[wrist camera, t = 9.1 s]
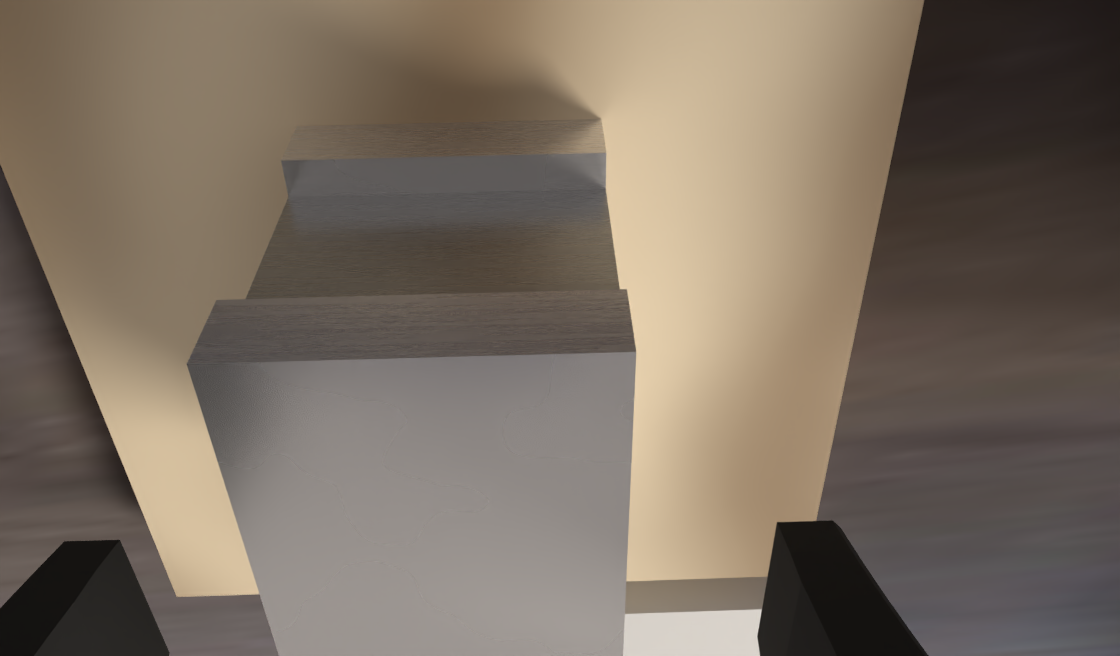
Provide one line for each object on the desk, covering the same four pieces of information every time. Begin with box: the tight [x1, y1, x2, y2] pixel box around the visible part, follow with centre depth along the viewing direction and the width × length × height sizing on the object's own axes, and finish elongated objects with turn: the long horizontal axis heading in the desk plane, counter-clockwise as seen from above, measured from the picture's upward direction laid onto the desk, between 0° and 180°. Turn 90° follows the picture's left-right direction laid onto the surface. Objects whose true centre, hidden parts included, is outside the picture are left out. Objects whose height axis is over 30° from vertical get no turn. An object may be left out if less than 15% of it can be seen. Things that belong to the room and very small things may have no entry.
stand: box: [0, 0, 924, 597], centre depth 15 cm, size 12×12×2 cm
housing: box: [187, 119, 636, 656], centre depth 13 cm, size 7×4×5 cm, turn 1°
